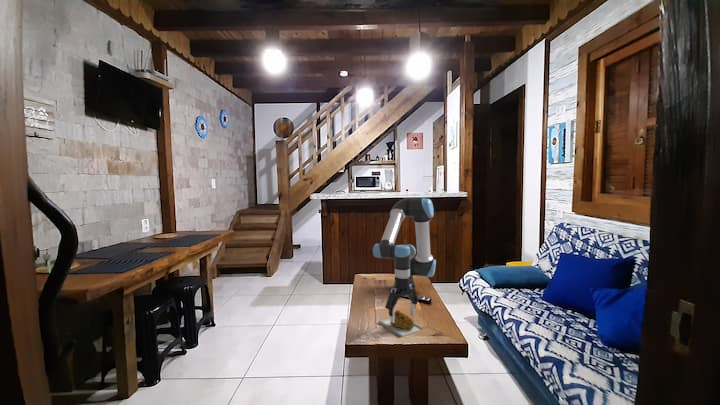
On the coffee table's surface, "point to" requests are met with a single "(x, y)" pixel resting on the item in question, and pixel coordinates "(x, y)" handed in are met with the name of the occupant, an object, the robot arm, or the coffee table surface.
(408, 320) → the rock
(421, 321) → the coffee table surface
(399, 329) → the mat
